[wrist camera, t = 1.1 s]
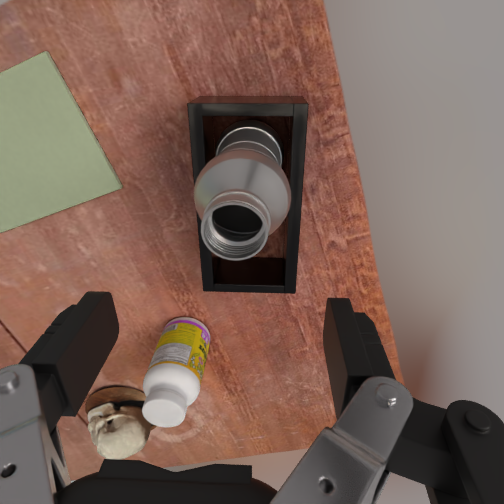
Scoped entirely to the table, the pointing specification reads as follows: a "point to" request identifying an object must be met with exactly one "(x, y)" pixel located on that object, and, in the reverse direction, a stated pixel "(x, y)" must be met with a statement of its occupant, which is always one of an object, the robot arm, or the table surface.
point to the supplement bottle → (175, 371)
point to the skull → (118, 422)
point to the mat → (45, 146)
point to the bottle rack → (296, 107)
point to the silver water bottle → (242, 191)
